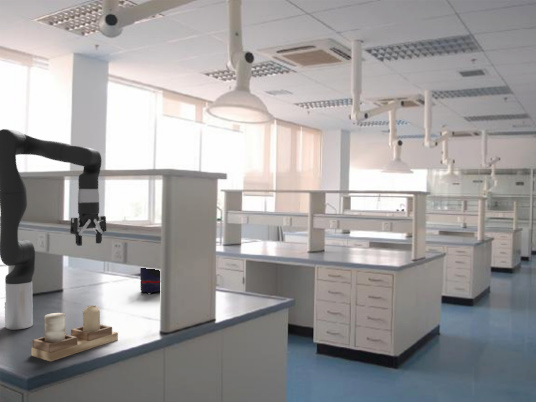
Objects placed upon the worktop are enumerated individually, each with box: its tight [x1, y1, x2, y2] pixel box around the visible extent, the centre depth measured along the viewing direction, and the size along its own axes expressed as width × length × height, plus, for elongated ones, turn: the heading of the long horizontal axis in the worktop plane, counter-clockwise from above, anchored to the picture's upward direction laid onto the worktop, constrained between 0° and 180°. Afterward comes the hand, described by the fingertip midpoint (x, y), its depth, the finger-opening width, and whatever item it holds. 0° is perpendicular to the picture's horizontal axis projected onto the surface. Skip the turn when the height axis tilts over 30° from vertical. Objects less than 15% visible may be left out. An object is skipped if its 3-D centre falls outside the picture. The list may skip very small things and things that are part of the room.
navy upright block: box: [139, 268, 161, 294], centre depth 254 cm, size 14×12×30 cm
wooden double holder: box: [31, 312, 119, 362], centre depth 164 cm, size 10×26×12 cm, turn 148°
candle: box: [82, 305, 101, 332], centre depth 170 cm, size 6×6×10 cm
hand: (89, 244), depth 185 cm, fingers open, 8 cm apart
